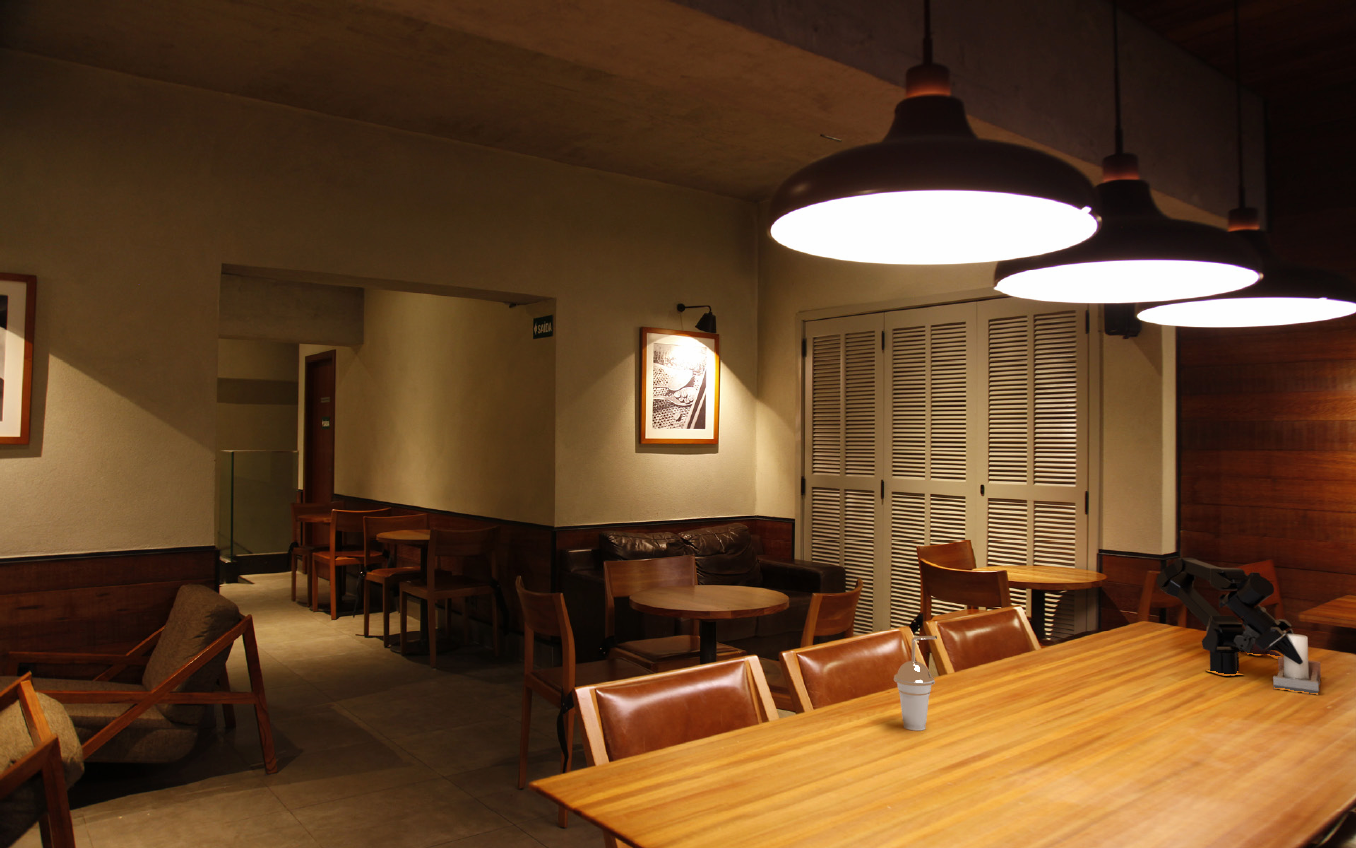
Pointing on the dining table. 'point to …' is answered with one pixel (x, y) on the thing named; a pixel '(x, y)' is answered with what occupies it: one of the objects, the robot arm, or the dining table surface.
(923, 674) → the cup with straw
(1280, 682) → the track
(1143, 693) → the dining table surface
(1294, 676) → the white cylinder
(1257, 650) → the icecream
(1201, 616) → the robot arm
